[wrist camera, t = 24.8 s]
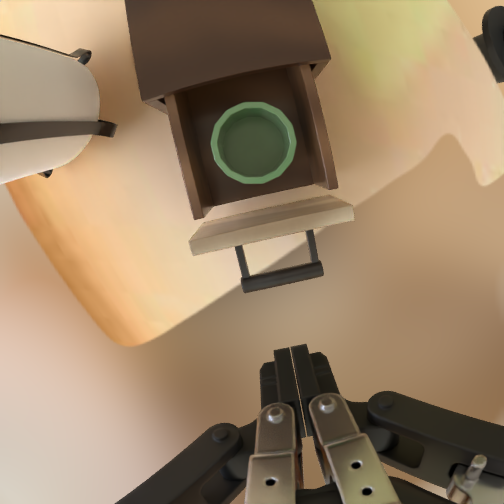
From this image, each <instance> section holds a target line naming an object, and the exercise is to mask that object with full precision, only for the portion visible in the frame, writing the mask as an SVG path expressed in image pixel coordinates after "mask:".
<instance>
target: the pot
mask: <svg viewBox="0 0 504 504" xmlns="http://www.w3.org/2000/svg"><path fill="white" fill-rule="evenodd" d="M296 145H297V141H296V137H295V132H294V128H293V125H292V123H291V122H290V121H289V119H288V118H287V117H286V116H285V115H284V113H283V112H282V111H281V110H280V109H278V108H276V107H273V106H271V105H269V104H267V103H265V102H242V103H240V104H238V105H236V106H234V107H232V108H230V109H228V110H226V111H225V112H224V114H223V115H222V116H221V117H220V119H219V120H218V121H217V122H216V123H215V125H214V129H213V133H212V138H211V148H212V152H213V156H214V160H215V162H216V163H217V164H218V166H219V167H220V168H221V169H222V170H223V172H224V173H225V174H226V175H227V176H229V177H231V178H233V179H235V180H237V181H239V182H242V183H244V184H263V183H266V182H268V181H270V180H272V179H274V178H276V177H279V176H280V175H282V173H283V172H284V171H285V170H286V168H287V167H288V166H289V165H290V164H291V162H292V161H293V158H294V153H295V149H296Z"/></svg>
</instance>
